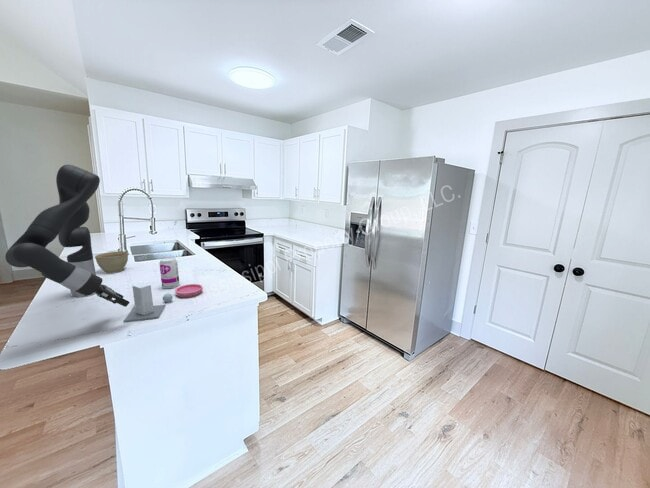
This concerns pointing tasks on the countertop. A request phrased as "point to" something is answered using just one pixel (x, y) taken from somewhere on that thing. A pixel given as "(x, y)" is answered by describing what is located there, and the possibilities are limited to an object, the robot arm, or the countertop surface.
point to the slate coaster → (138, 317)
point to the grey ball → (167, 297)
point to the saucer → (189, 290)
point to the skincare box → (143, 298)
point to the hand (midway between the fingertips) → (124, 301)
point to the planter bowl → (112, 261)
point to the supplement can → (169, 272)
